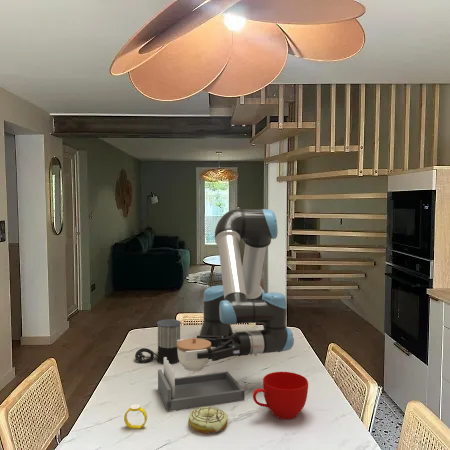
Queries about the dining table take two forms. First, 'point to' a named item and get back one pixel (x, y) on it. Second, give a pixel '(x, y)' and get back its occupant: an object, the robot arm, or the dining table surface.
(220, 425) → the decorated donut
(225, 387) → the dish rack
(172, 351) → the milk frother
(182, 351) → the lidded jar
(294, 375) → the ceramic cup
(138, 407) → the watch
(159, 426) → the dining table surface
